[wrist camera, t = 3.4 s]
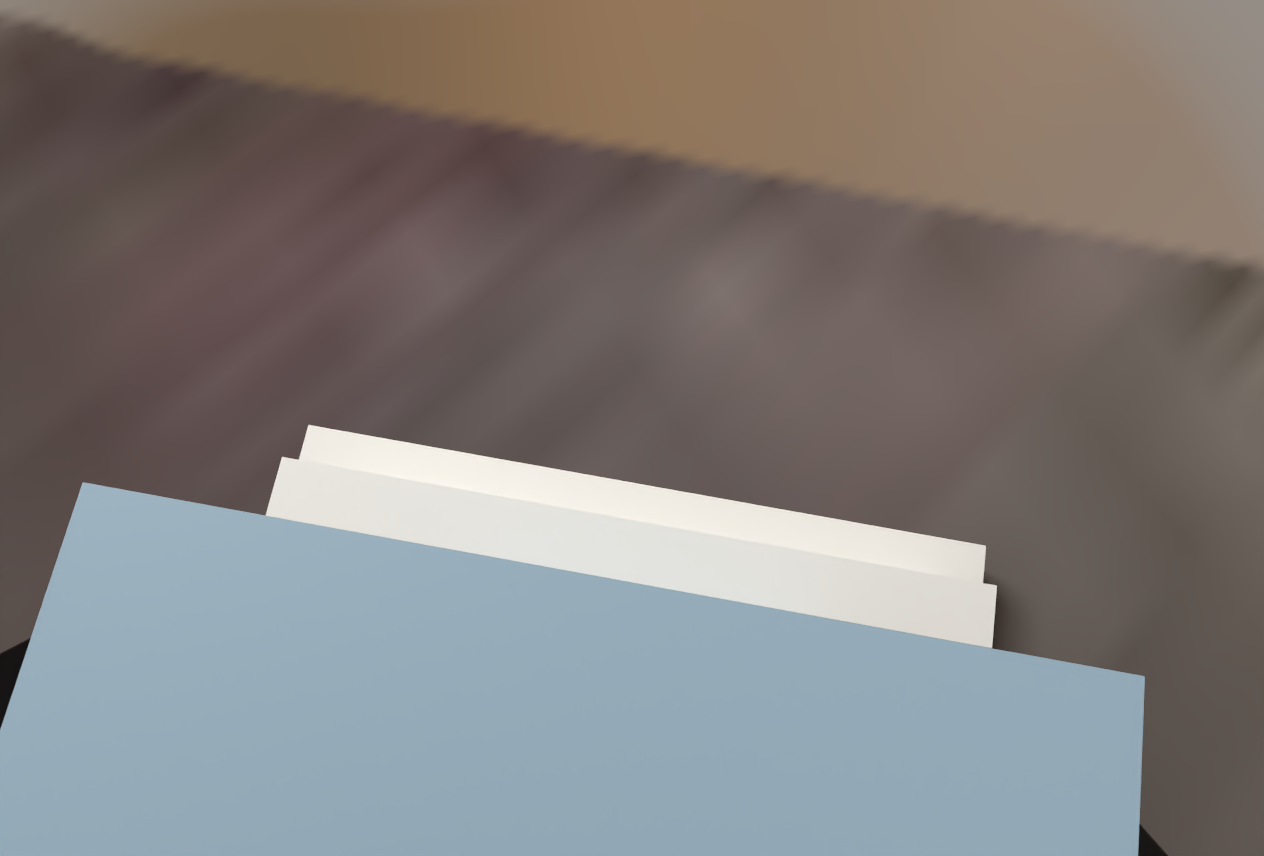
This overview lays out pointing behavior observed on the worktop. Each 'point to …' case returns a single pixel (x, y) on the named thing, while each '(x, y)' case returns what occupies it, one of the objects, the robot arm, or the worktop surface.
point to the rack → (639, 534)
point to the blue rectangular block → (517, 712)
